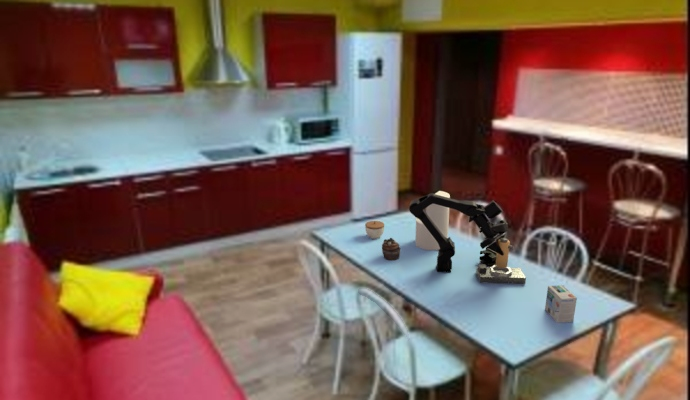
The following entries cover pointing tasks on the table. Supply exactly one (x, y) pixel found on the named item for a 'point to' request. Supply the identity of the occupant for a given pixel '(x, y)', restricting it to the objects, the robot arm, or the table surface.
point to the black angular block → (488, 257)
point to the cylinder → (440, 220)
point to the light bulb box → (560, 303)
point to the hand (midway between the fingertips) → (505, 252)
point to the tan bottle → (505, 246)
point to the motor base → (500, 275)
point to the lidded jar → (374, 229)
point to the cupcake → (391, 249)
